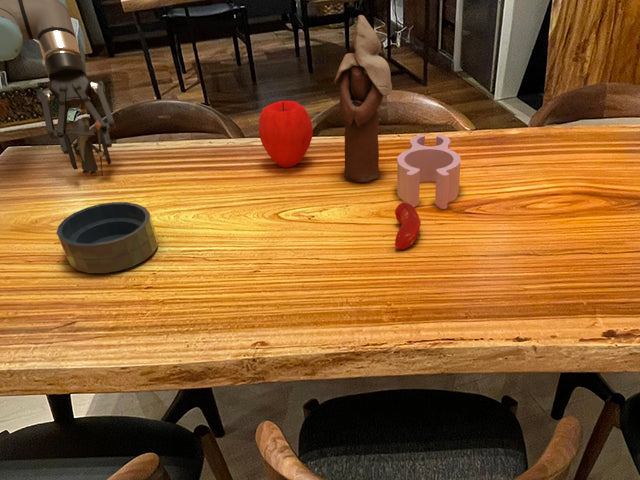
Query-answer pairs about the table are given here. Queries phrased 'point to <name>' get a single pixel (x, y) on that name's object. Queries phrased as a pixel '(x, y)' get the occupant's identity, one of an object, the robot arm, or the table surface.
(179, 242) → the table surface
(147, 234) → the basin
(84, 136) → the wizard figurine
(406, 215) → the vegetable
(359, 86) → the sculpture
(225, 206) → the table surface
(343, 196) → the table surface
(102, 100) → the robot arm
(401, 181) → the clip
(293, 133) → the apple
